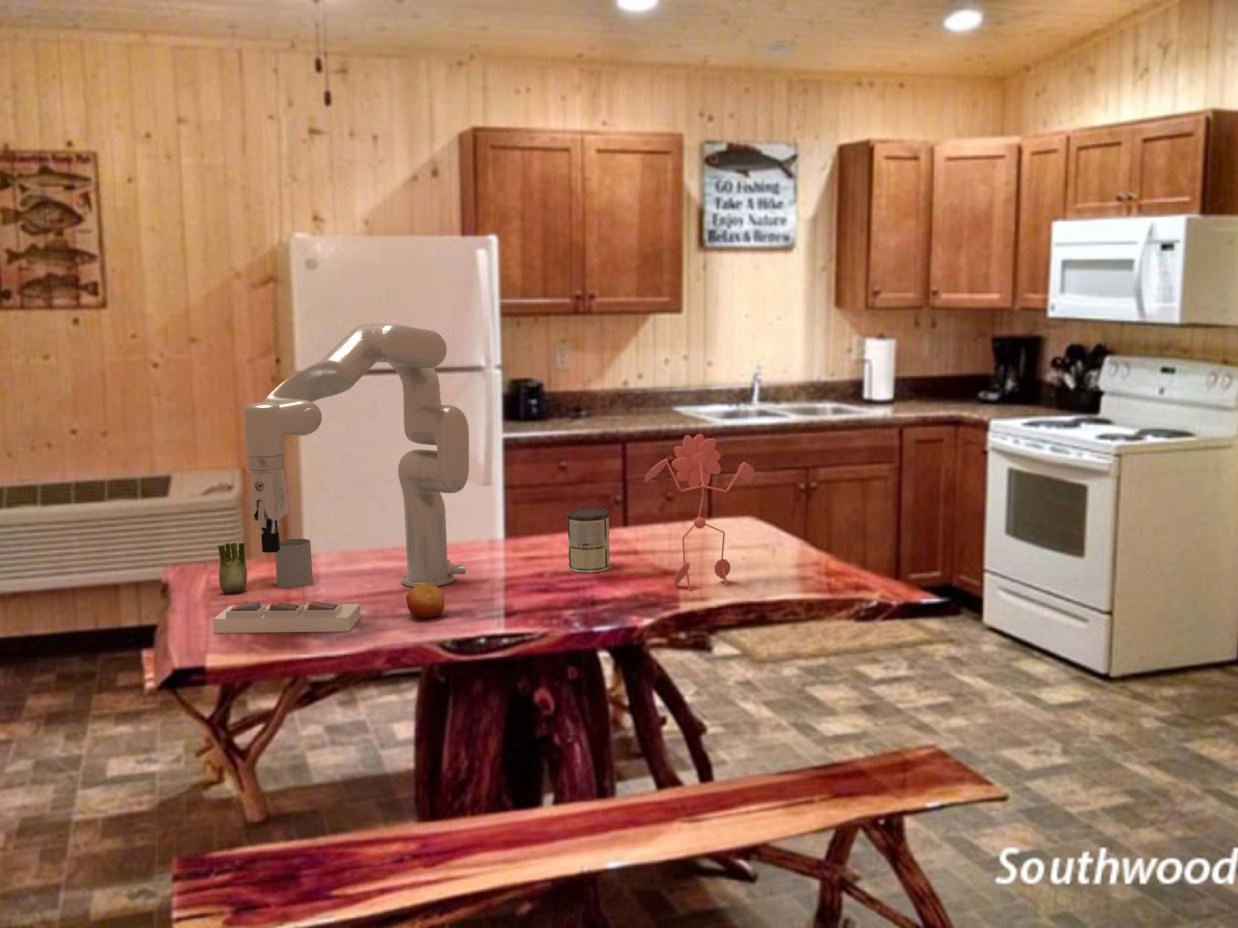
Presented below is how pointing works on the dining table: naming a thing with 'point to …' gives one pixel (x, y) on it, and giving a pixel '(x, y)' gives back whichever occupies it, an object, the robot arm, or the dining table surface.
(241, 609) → the rocker
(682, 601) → the dining table surface
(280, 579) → the cup
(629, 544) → the dining table surface
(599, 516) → the coffee can
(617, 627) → the dining table surface
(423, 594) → the fruit
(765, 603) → the dining table surface
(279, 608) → the rocker middle
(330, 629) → the power strip
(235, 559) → the fennel bulb
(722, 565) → the figurine
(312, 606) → the rocker
